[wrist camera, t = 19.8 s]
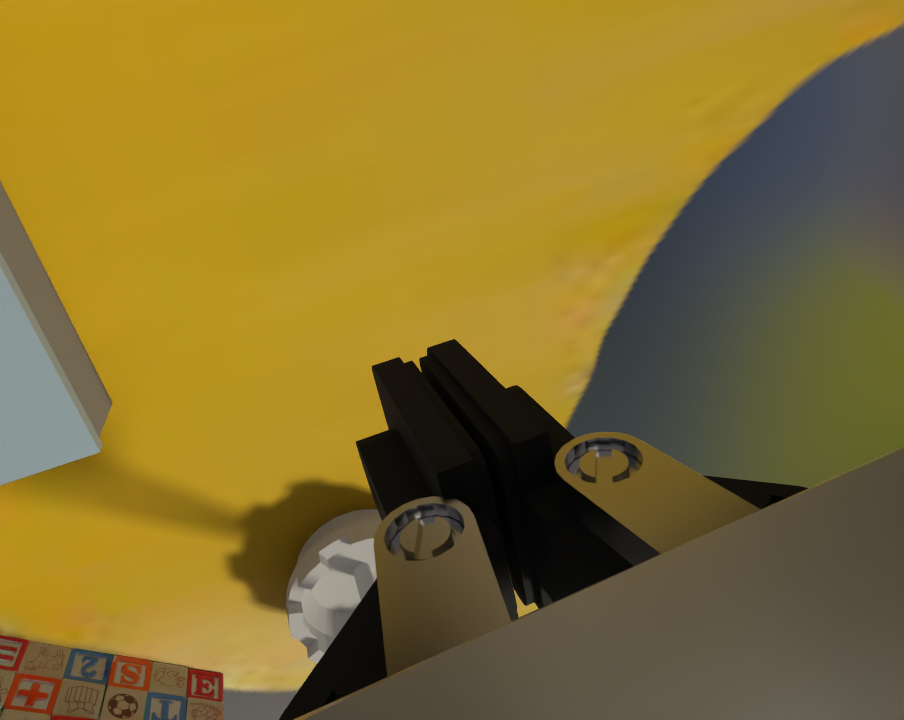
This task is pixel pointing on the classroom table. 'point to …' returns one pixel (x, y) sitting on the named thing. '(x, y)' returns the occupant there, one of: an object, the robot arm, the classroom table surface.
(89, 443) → the grey flat panel
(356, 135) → the classroom table surface
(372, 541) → the flag stand
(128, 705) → the stack of blocks
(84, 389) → the grey open box
